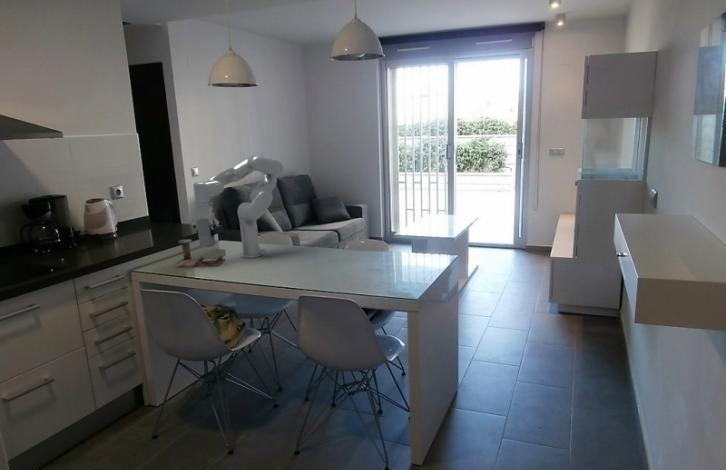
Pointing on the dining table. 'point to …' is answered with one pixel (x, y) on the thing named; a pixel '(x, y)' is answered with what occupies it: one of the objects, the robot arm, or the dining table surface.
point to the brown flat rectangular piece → (200, 262)
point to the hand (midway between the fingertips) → (206, 236)
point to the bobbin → (186, 249)
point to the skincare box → (205, 233)
